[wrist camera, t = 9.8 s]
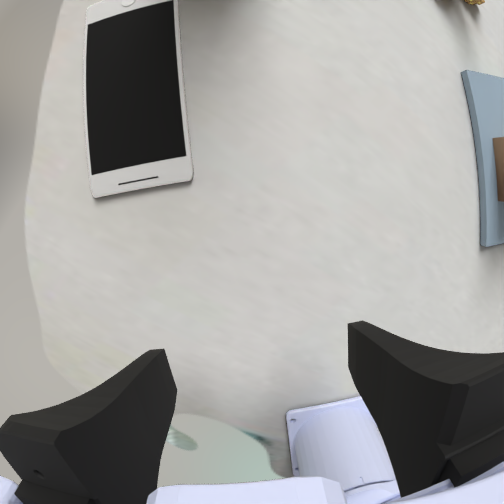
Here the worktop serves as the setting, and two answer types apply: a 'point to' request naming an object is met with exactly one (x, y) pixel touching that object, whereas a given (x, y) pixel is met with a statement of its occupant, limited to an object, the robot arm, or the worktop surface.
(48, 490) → the robot arm
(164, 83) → the smartphone
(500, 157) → the walnut cube
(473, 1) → the cream long lumpy piece
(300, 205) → the worktop surface
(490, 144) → the slate board
